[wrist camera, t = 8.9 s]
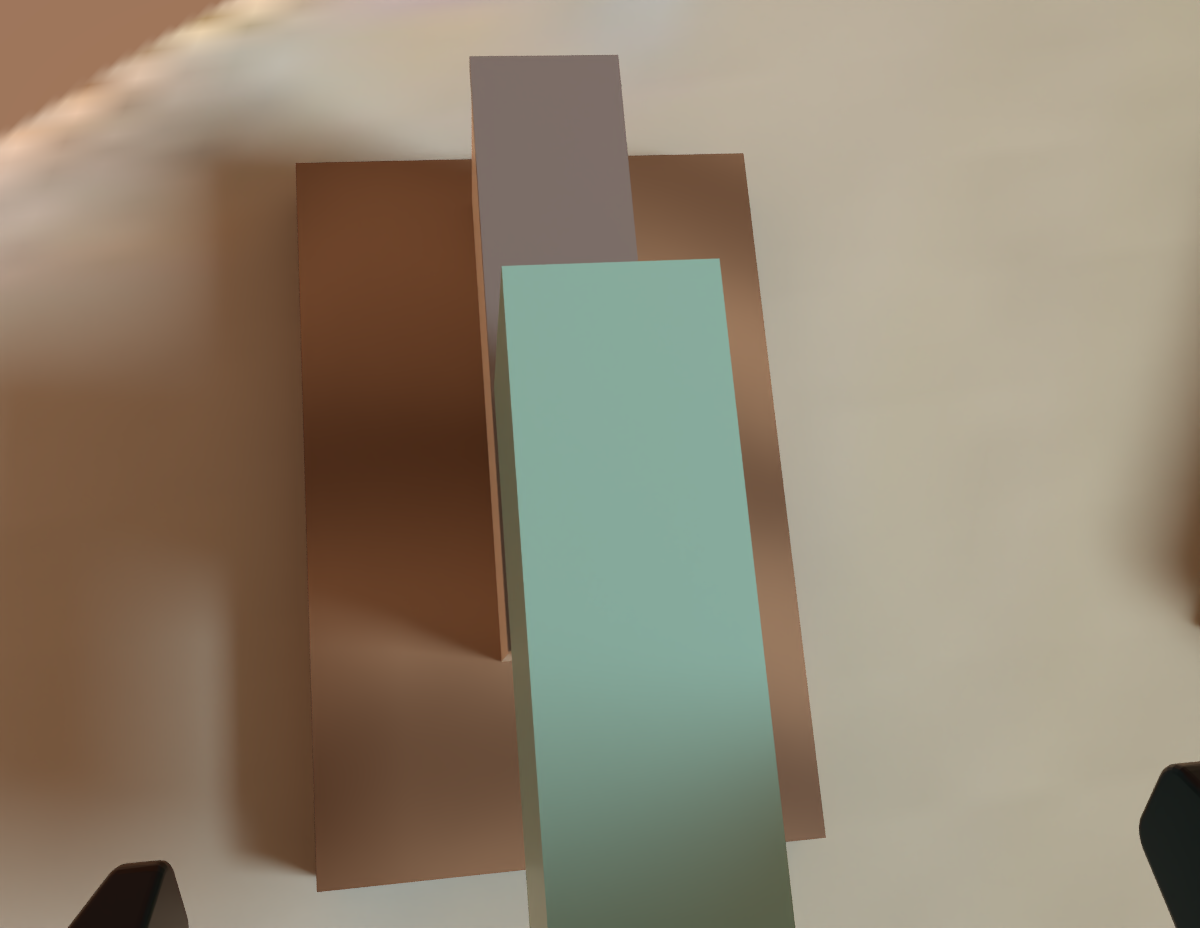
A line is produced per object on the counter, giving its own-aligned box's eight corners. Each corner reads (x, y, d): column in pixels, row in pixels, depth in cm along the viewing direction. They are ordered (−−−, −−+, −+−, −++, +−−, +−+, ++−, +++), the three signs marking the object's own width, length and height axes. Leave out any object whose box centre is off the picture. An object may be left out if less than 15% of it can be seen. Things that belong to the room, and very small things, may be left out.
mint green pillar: (717, 1062, 15) (828, 1233, 10) (539, 1086, 15) (571, 1272, 10) (651, 380, 17) (719, 258, 12) (493, 387, 17) (501, 265, 12)
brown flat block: (803, 828, 23) (826, 837, 22) (327, 878, 22) (316, 892, 20) (728, 183, 26) (742, 153, 25) (306, 194, 25) (295, 163, 23)
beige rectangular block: (625, 651, 22) (674, 637, 17) (500, 661, 22) (508, 650, 16) (586, 198, 24) (617, 54, 19) (470, 201, 24) (469, 56, 18)
